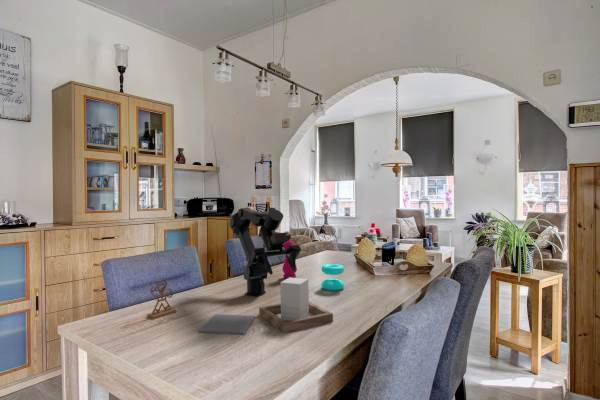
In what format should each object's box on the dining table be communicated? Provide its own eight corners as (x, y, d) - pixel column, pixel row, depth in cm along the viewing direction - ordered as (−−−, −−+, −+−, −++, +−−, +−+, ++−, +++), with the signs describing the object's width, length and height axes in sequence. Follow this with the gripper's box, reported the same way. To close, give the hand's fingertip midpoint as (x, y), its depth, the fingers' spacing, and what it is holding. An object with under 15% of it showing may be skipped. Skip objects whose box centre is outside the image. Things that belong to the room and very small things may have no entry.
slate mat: (215, 316, 116) (215, 314, 116) (255, 317, 115) (255, 315, 115) (198, 332, 102) (198, 330, 102) (244, 334, 101) (244, 332, 101)
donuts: (346, 264, 153) (340, 268, 144) (346, 286, 153) (340, 292, 144) (325, 262, 157) (318, 266, 148) (325, 284, 157) (318, 290, 148)
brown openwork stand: (170, 309, 123) (170, 276, 123) (176, 312, 121) (176, 278, 120) (146, 317, 116) (146, 281, 116) (153, 319, 113) (152, 283, 113)
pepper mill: (298, 277, 172) (298, 237, 172) (294, 280, 165) (293, 238, 165) (285, 275, 174) (285, 236, 174) (280, 279, 167) (279, 238, 167)
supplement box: (309, 316, 116) (309, 278, 116) (300, 323, 109) (300, 284, 109) (290, 313, 119) (289, 276, 119) (280, 320, 112) (279, 281, 112)
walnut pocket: (259, 314, 117) (259, 307, 117) (304, 306, 126) (304, 299, 126) (283, 332, 102) (283, 324, 102) (332, 321, 111) (332, 313, 111)
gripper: (252, 225, 121) (266, 261, 111) (298, 223, 130) (314, 256, 121) (244, 245, 127) (256, 280, 118) (288, 241, 137) (303, 274, 128)
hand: (283, 272), depth 121 cm, fingers open, 9 cm apart
